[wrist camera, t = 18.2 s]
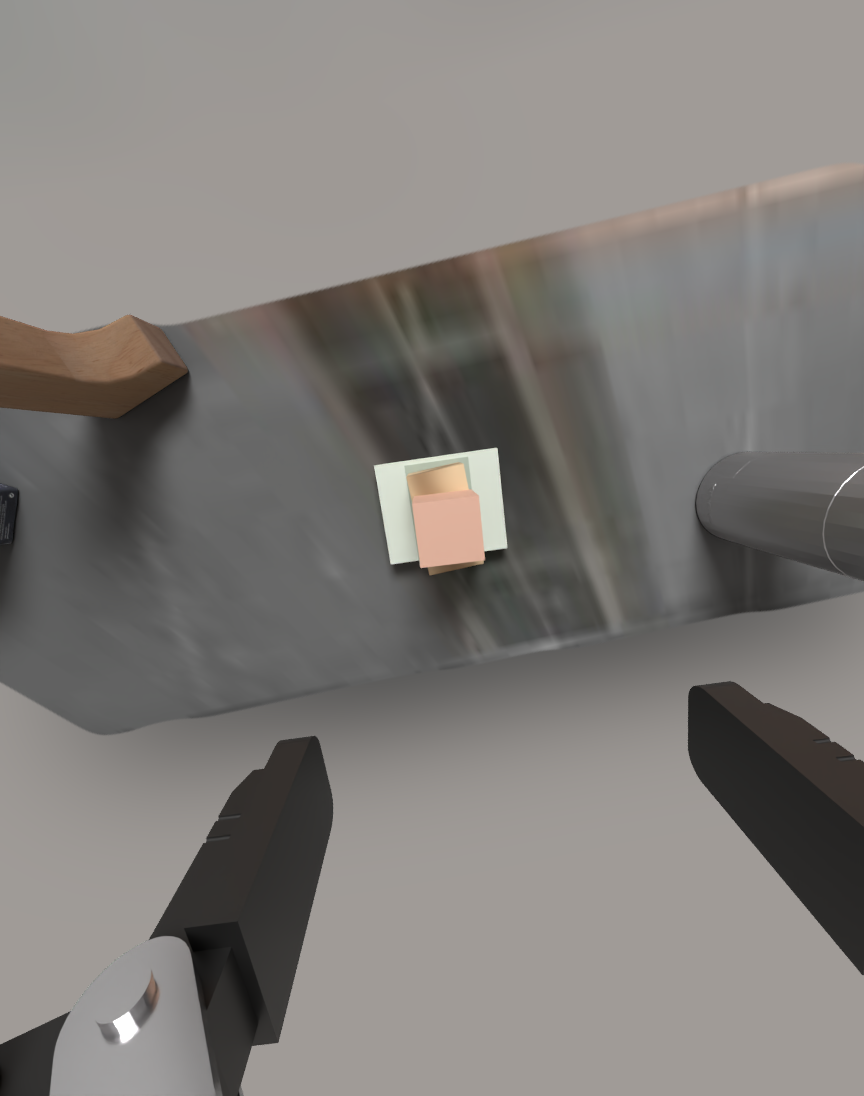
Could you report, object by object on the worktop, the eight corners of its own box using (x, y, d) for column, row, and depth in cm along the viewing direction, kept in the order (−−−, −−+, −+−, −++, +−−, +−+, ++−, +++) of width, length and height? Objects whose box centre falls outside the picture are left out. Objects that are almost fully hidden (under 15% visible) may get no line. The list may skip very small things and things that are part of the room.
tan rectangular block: (458, 461, 40) (463, 463, 35) (476, 550, 42) (483, 563, 37) (408, 473, 40) (406, 476, 35) (428, 560, 42) (429, 575, 37)
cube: (471, 489, 35) (478, 495, 30) (476, 545, 36) (485, 560, 32) (413, 496, 35) (412, 503, 31) (421, 552, 37) (420, 568, 32)
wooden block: (161, 327, 38) (-59, 224, 21) (191, 371, 39) (5, 310, 22) (86, 377, 39) (-186, 320, 22) (117, 420, 40) (-120, 398, 23)
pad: (493, 448, 41) (497, 448, 39) (504, 549, 44) (508, 554, 42) (376, 465, 42) (374, 465, 40) (393, 564, 44) (391, 570, 42)
